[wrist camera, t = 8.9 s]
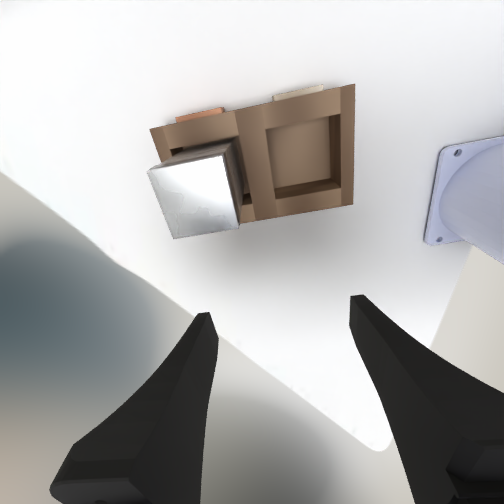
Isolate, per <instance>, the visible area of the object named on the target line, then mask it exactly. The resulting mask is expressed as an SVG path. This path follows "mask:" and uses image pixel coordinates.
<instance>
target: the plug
mask: <svg viewBox="0 0 504 504" xmlns="http://www.w3.org/2000/svg"><path fill="white" fill-rule="evenodd" d="M147 174H148V176H149V179H150V181H151V184H152V187H153V189H154V192H155V194H156V197H157V199H158V202H159V204H160V207H161V209H162V212H163V214H164V217H165V219H166V222H167V224H168V227H169V230H170V232H171V235H172V237H173V239H178V238H184V237H189V236H195V235H201V234H207V233H213V232H219V231H225V230H231V229H237V228H239V225H240V216H241V209H242V202H243V195H244V188H245V182H244V177H243V172H242V168H241V163H240V158H239V153H238V148H237V143H236V138H235V137H233V138H228V139H223V140H218V141H213V142H209V143H204V144H199V145H194V146H190V147H188V148H186V149H184V150H182V151H181V152H179V153H177V154H176V155H174V156H172V157H171V158H169V159H167V160H165V161H164V162H162V163H160V164H159V165H156V166H154V167H152V168H151V169H149V170H148V171H147Z"/></svg>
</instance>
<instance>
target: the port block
mask: <svg viewBox="0 0 504 504" xmlns="http://www.w3.org/2000/svg"><path fill="white" fill-rule="evenodd" d="M272 98H273V102H270V103H265V104H261V105H256V106H252V107H247V108H243V109H238V110H233V111H229V112H225V111H224V107H220V108H216V109H211V110H207V111H202V112H198V113H193V114H189V115H184V116H180V117H175V118H176V121H177V123H175V124H170V125H166V126H161V127H157V128H152V129H150V132H151V135H152V138H153V141H154V143H155V146H156V149H157V152H158V155H159V157H160V160H161V163H162V162H164V161H165V160H167V159H169V158H171V157H172V156H174V155H176V154H177V153H179V152H181V151H182V150H184V149H186V148H188V147H190V146H194V145H199V144H204V143H209V142H213V141H218V140H223V139H228V138H233V137H235V138H236V143H237V148H238V153H239V158H240V163H241V168H242V172H243V177H244V182H245V188H244V195H243V202H242V209H241V216H240V224H241V223H247V222H253V221H259V220H265V219H271V218H277V217H282V216H288V215H294V214H300V213H306V212H312V211H318V210H323V209H329V208H335V207H341V206H347V205H353V185H354V126H355V84H351V85H347V86H342V87H337V88H333V89H328V90H324V91H323V85H318V86H314V87H310V88H305V89H301V90H296V91H292V92H287V93H283V94H278V95H274V96H272Z"/></svg>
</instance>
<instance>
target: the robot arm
mask: <svg viewBox="0 0 504 504" xmlns="http://www.w3.org/2000/svg"><path fill="white" fill-rule="evenodd" d="M456 150H458V153H457V154H456V155H455V156H454V153H455V151H456ZM438 237H439V239H438V240H436V239H437V238H438ZM424 240H425V243H426V244H428V245H437V244H444V243H451V242H457V241H464V240H466V241H468V242H469V243H471V244H472V245H474V246H476V247H477V248H479V249H480V250H482V251H484V252H485V253H487V254H488V255H490V256H491V257H493V258H494V259H496V260H498V261H499V262H501V263H502V264H504V136H501V137H495V138H490V139H485V140H479V141H474V142H469V143H463V144H458V145H453V146H448V147H446V148H444V149H443V150H442V151H441V153H440V157H439V162H438V168H437V173H436V179H435V184H434V190H433V195H432V201H431V206H430V212H429V217H428V223H427V228H426V234H425V239H424ZM349 326H350V329H351V332H352V335H353V338H354V341H355V344H356V347H357V349H358V351H359V353H360V355H361V358H362V360H363V362H364V364H365V366H366V368H367V371H368V373H369V375H370V377H371V379H372V381H373V383H374V386H375V388H376V390H377V392H378V395H379V397H380V399H381V402H382V405H383V408H384V411H385V413H386V416H387V419H388V422H389V425H390V427H391V430H392V433H393V436H394V439H395V442H396V445H397V448H398V451H399V454H400V457H401V460H402V463H403V466H404V469H405V472H406V475H407V479H408V482H409V485H410V489H411V492H412V495H413V498H414V502H415V504H504V393H502V392H501V391H499V390H497V389H495V388H493V387H491V386H489V385H487V384H485V383H483V382H482V381H480V380H478V379H476V378H474V377H472V376H471V375H469V374H468V373H466V372H464V371H462V370H461V369H459V368H457V367H455V366H454V365H452V364H451V363H449V362H448V361H446V360H444V359H443V358H441V357H440V356H438V355H437V354H435V353H434V352H432V351H431V350H429V349H428V348H427V347H425V346H424V345H422V344H421V343H420V342H418V341H417V340H416V339H414V338H413V337H412V336H410V335H409V334H408V333H407V332H405V331H404V330H403V329H402V328H400V327H399V326H398V325H397V324H396V323H394V322H393V321H392V320H391V319H390V318H389V317H387V316H386V315H385V314H384V313H383V312H382V311H381V310H380V309H379V308H377V307H376V306H375V305H374V304H373V303H372V302H371V301H370V300H369V299H368V298H367V297H366V296H364V295H355V296H350V320H349ZM218 339H219V338H218V335H217V333H216V330H215V327H214V324H213V321H212V318H211V315H210V312H205V313H198V314H197V316H196V317H195V318H194V320H193V321H192V323H191V325H190V326H189V327H188V329H187V330H186V332H185V333H184V335H183V336H182V338H181V339H180V340H179V342H178V343H177V345H176V346H175V347H174V349H173V350H172V351H171V353H170V354H169V355H168V357H167V358H166V359H165V360H164V361H163V363H162V364H161V365H160V366H159V368H158V369H157V370H156V371H155V372H154V373H153V375H152V376H151V377H150V378H149V379H148V380H147V381H146V382H145V383H144V384H143V385H142V386H141V387H140V388H139V389H138V390H137V391H136V392H135V393H134V394H133V395H132V396H131V397H130V398H129V399H128V400H127V401H126V402H125V403H124V404H123V405H122V406H120V407H119V408H118V409H117V410H116V411H115V412H114V413H112V414H111V415H110V416H109V417H108V418H107V419H105V420H104V421H103V422H102V423H101V424H99V425H98V426H97V427H96V428H94V429H93V430H92V431H90V432H89V433H88V434H86V435H85V436H84V437H83V438H82V439H80V440H79V441H77V442H76V443H75V444H73V446H72V448H71V449H70V451H69V453H68V455H67V457H66V458H65V460H64V462H63V464H62V466H61V467H60V469H59V471H58V473H57V475H56V477H55V479H54V480H53V482H52V484H51V486H50V489H49V490H50V493H51V495H52V496H53V497H54V498H55V499H56V500H58V501H60V502H61V503H63V504H200V496H201V478H202V462H203V449H204V438H205V427H206V418H207V409H208V403H209V397H210V393H211V387H212V382H213V377H214V372H215V367H216V362H217V354H218V341H219V340H218Z"/></svg>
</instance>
